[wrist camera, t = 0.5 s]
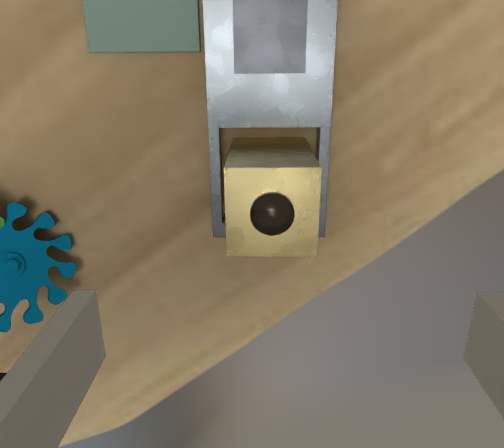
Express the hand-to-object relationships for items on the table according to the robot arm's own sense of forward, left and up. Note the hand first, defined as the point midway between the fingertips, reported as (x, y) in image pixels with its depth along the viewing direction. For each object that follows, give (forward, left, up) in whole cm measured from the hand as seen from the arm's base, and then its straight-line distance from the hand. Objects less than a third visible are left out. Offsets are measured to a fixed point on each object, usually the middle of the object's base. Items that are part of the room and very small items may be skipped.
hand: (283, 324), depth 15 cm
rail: (0, +8, -21) cm, 23 cm away
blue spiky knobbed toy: (-21, -6, -21) cm, 30 cm away
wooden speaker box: (0, 0, -21) cm, 21 cm away
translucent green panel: (-9, +13, -21) cm, 26 cm away
